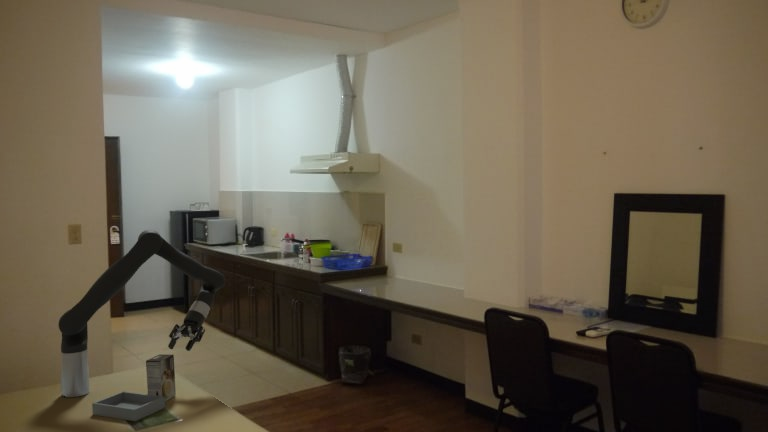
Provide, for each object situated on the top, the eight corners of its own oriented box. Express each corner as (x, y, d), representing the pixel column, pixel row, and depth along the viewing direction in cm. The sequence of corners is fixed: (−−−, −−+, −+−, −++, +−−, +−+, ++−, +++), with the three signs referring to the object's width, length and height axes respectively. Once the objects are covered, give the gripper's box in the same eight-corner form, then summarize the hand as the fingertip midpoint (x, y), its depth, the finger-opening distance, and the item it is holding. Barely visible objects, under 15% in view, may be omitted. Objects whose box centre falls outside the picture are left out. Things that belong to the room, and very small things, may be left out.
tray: (92, 414, 216) (92, 403, 216) (123, 401, 229) (123, 391, 229) (135, 421, 208) (134, 409, 208) (164, 407, 221) (164, 396, 221)
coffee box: (161, 394, 235) (159, 353, 235) (176, 395, 234) (174, 354, 234) (147, 403, 226) (145, 360, 226) (162, 403, 225) (161, 360, 225)
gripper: (178, 308, 249) (159, 342, 239) (206, 310, 244) (188, 345, 234) (188, 318, 254) (169, 352, 244) (215, 320, 249) (197, 355, 239)
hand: (178, 349), depth 239 cm, fingers open, 8 cm apart
